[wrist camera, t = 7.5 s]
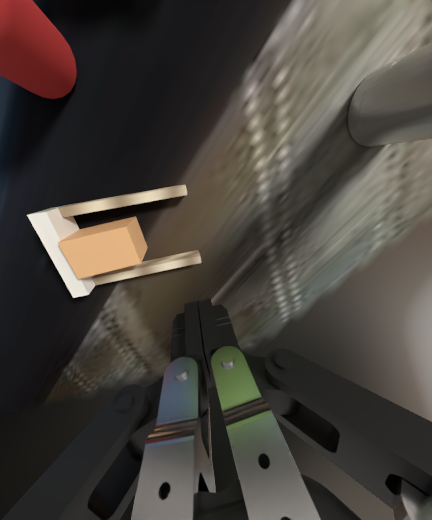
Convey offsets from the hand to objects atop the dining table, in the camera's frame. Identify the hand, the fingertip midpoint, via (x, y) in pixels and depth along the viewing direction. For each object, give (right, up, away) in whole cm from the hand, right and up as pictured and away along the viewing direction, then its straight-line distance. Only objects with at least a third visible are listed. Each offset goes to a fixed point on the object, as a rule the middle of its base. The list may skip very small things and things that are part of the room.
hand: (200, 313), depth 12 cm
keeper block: (-14, +6, +18) cm, 24 cm away
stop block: (-19, +5, +18) cm, 27 cm away
